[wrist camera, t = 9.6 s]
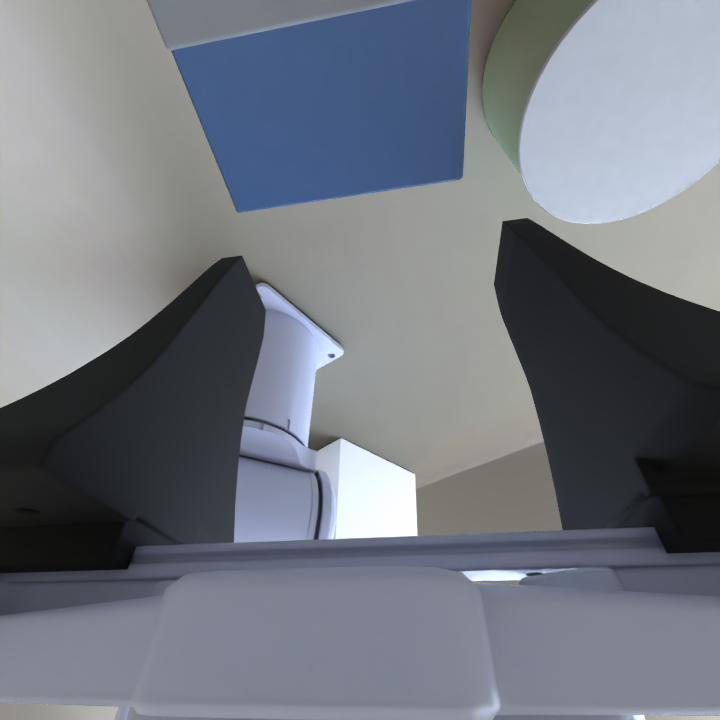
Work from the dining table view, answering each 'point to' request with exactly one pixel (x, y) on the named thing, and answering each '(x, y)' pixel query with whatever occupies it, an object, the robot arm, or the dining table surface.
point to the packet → (324, 92)
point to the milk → (368, 493)
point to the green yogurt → (606, 101)
